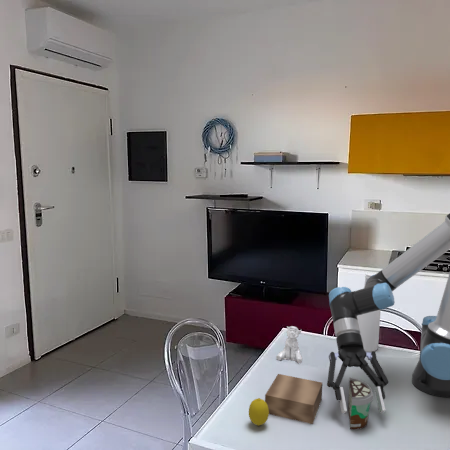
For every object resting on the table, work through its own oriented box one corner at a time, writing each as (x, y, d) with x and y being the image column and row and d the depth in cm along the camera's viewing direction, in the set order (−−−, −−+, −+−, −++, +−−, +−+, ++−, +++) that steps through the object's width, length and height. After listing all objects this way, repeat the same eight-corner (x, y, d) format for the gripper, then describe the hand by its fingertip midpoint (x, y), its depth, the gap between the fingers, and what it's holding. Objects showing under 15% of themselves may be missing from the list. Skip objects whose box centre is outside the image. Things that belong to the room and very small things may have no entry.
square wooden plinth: (321, 400, 140) (322, 382, 139) (312, 425, 127) (313, 405, 126) (277, 391, 145) (278, 373, 144) (264, 414, 132) (265, 394, 131)
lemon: (254, 433, 122) (254, 405, 121) (245, 422, 127) (245, 395, 126) (272, 428, 125) (272, 401, 123) (262, 418, 130) (263, 391, 128)
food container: (373, 435, 122) (376, 400, 121) (350, 432, 123) (352, 398, 122) (369, 410, 134) (371, 378, 133) (347, 408, 135) (349, 376, 134)
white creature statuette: (275, 360, 166) (276, 329, 165) (280, 351, 175) (281, 321, 173) (301, 364, 164) (302, 332, 162) (305, 354, 172) (306, 324, 170)
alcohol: (351, 343, 182) (355, 270, 178) (372, 343, 183) (376, 270, 179) (359, 353, 174) (364, 276, 169) (381, 352, 175) (387, 276, 170)
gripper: (380, 340, 143) (398, 414, 130) (309, 341, 142) (320, 416, 129) (388, 330, 137) (408, 407, 124) (314, 331, 136) (326, 409, 122)
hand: (363, 411), depth 126 cm, fingers open, 10 cm apart
